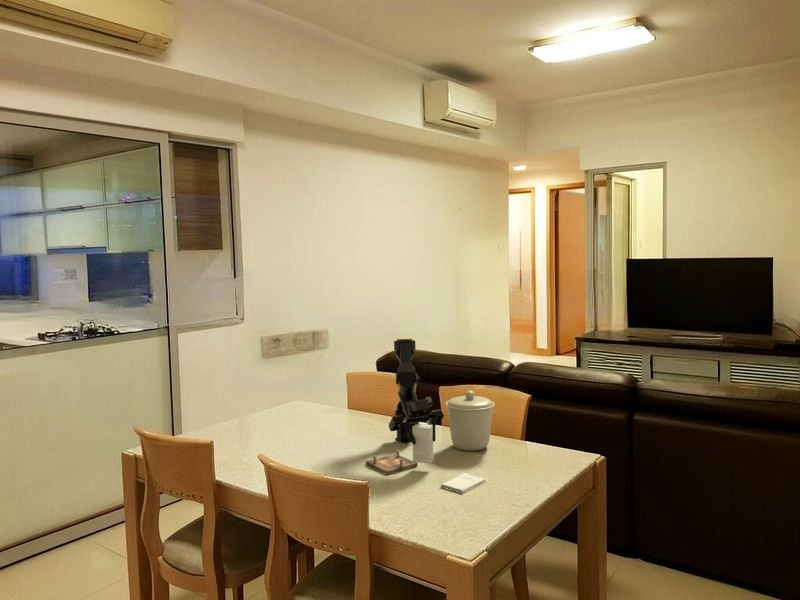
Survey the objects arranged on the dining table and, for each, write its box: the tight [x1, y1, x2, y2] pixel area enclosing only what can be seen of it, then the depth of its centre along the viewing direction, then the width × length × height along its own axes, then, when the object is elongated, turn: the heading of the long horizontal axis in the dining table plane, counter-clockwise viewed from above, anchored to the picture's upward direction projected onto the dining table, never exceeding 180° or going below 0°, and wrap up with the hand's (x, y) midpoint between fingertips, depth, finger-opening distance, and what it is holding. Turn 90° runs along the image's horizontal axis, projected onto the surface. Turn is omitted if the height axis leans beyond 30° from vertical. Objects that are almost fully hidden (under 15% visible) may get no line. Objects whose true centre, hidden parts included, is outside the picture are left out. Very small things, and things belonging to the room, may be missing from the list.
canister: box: [445, 390, 496, 452], centre depth 225 cm, size 18×18×21 cm
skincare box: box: [412, 423, 434, 464], centre depth 202 cm, size 6×4×12 cm
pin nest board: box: [365, 449, 418, 476], centre depth 207 cm, size 13×13×4 cm
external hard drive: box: [440, 472, 486, 494], centre depth 190 cm, size 2×8×12 cm
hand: (424, 442), depth 201 cm, fingers closed on skincare box, 7 cm apart
